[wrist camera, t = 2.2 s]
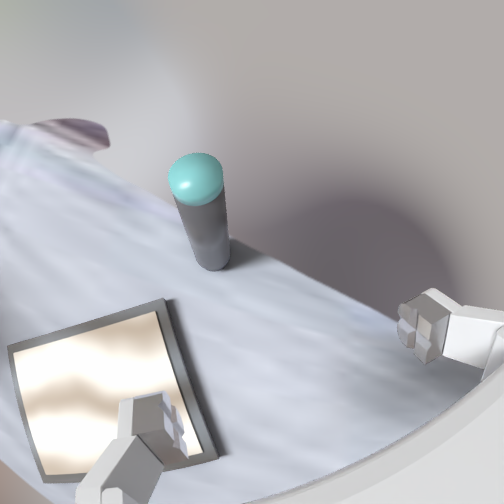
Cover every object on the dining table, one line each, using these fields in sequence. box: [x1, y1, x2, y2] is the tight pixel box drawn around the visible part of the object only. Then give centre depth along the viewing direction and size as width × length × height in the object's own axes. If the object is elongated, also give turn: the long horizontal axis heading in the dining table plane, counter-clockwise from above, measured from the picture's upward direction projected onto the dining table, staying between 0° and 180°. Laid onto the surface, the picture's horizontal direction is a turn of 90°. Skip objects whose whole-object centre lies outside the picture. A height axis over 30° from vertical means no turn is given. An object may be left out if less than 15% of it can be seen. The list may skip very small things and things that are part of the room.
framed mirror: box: [7, 298, 219, 483], centre depth 23 cm, size 15×19×1 cm
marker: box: [168, 153, 230, 271], centre depth 24 cm, size 3×3×13 cm
